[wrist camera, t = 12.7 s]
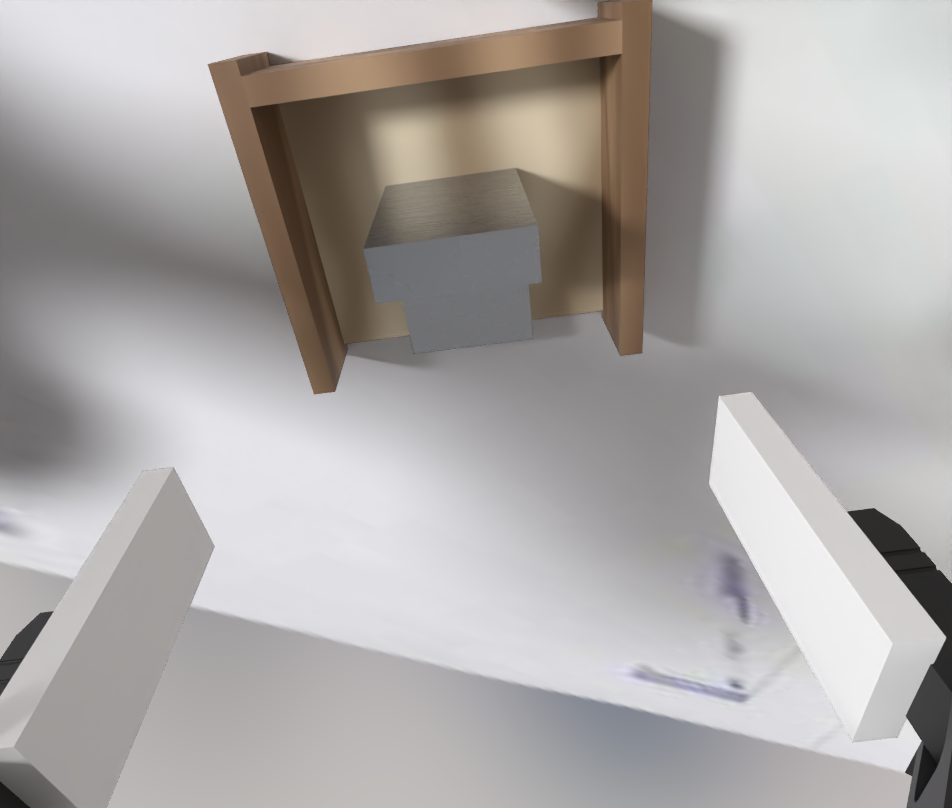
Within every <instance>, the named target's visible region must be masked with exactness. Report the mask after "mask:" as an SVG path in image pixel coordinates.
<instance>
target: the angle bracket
mask: <svg viewBox="0 0 952 808" xmlns="http://www.w3.org/2000/svg"><path fill="white" fill-rule="evenodd" d="M363 250H364V254H365V259H366V263H367V267H368V271H369V276H370V280H371V284H372V289H373V293H374V297H375V301H376V304H380V303H388V302H396V301H403V305H404V310H405V315H406V319H407V324H408V329H409V334H410V339H411V344H412V348H413V353H414V354H417V353H424V352H432V351H440V350H448V349H456V348H464V347H471V346H479V345H487V344H495V343H503V342H511V341H518V340H526V339H533V332H532V320H531V308H530V296H529V284H533V283H540V282H542V277H541V263H540V248H539V234H538V224H537V222H536V219H535V217H534V214H533V212H532V209H531V206H530V204H529V201H528V199H527V196H526V194H525V191H524V188H523V186H522V183H521V181H520V178H519V175H518V173H517V170H516V168H511V169H503V170H496V171H489V172H482V173H475V174H467V175H460V176H453V177H446V178H439V179H431V180H424V181H417V182H410V183H403V184H396V185H388V186H385V189H384V192H383V195H382V197H381V200H380V203H379V206H378V209H377V212H376V214H375V217H374V220H373V223H372V226H371V228H370V231H369V234H368V237H367V240H366V243H365V245H364V248H363Z"/></svg>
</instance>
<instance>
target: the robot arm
mask: <svg viewBox="0 0 952 808" xmlns="http://www.w3.org/2000/svg"><path fill="white" fill-rule="evenodd" d="M709 485H710V487H711V489H712V491H713V493H714V494H715V496H716V498H717V500H718V502H719V503H720V505H721V507H722V509H723V511H724V512H725V514H726V516H727V518H728V520H729V522H730V523H731V525H732V527H733V529H734V531H735V532H736V534H737V536H738V538H739V540H740V541H741V543H742V545H743V547H744V549H745V550H746V552H747V554H748V556H749V558H750V559H751V561H752V563H753V565H754V567H755V568H756V570H757V572H758V574H759V576H760V578H761V579H762V581H763V583H764V585H765V587H766V588H767V590H768V592H769V594H770V596H771V597H772V599H773V601H774V603H775V605H776V606H777V608H778V610H779V612H780V614H781V615H782V617H783V619H784V621H785V623H786V624H787V626H788V628H789V630H790V632H791V634H792V635H793V637H794V639H795V641H796V643H797V644H798V646H799V648H800V650H801V652H802V653H803V655H804V657H805V659H806V661H807V662H808V664H809V666H810V668H811V670H812V671H813V673H814V675H815V677H816V679H817V680H818V682H819V684H820V686H821V688H822V690H823V691H824V693H825V695H826V697H827V699H828V700H829V702H830V704H831V706H832V708H833V709H834V711H835V713H836V715H837V717H838V718H839V720H840V722H841V724H842V726H843V727H844V729H845V731H846V733H847V735H848V736H849V738H850V740H851V742H861V741H870V740H879V739H888V738H897V737H898V735H899V733H900V731H901V729H902V727H903V725H904V723H905V721H906V719H908V720H909V722H910V723H911V725H912V726H913V728H914V730H915V731H916V733H917V734H918V736H919V737H920V739H921V740H922V742H921V744H920V746H919V747H918V749H917V751H916V753H915V755H914V757H913V759H912V760H911V762H910V764H909V766H908V768H907V770H906V772H905V773H907V774H909V775H911V776H912V781H911V786H910V792H909V797H908V803H907V808H952V583H951V582H950V581H949V580H948V579H947V578H946V577H945V575H944V574H943V573H942V572H941V571H940V570H937V569H936V565H935V564H934V563H933V562H932V561H931V559H930V558H929V557H928V556H927V555H926V554H925V553H924V552H921V551H920V547H919V546H918V545H917V543H916V542H915V541H914V540H913V539H912V538H911V537H910V535H909V534H908V533H907V532H906V531H905V530H904V529H903V527H902V526H900V525H899V524H897V523H896V522H894V521H893V520H891V519H890V518H888V517H887V516H885V515H883V514H882V513H880V512H879V511H877V510H876V509H874V508H872V509H864V510H856V511H848V512H847V511H846V510H845V509H844V508H843V506H842V505H841V504H840V503H839V501H838V500H837V499H836V497H835V496H834V495H833V494H832V492H831V491H830V490H829V489H828V487H827V486H826V485H825V484H824V482H823V481H822V480H821V479H820V477H819V476H818V475H817V474H816V472H815V471H814V470H813V468H812V467H811V466H810V465H809V463H808V462H807V461H806V460H805V458H804V457H803V456H802V455H801V453H800V452H799V451H798V450H797V448H796V447H795V446H794V445H793V443H792V442H791V441H790V439H789V438H788V437H787V436H786V434H785V433H784V432H783V431H782V429H781V428H780V427H779V426H778V424H777V423H776V422H775V421H774V419H773V418H772V417H771V416H770V414H769V413H768V412H767V410H766V409H765V408H764V407H763V405H762V404H761V403H760V402H759V400H758V399H757V398H756V397H755V395H754V394H753V393H752V392H746V393H739V394H731V395H723V396H719V400H718V409H717V418H716V426H715V435H714V444H713V453H712V461H711V470H710V479H709ZM214 547H215V546H214V544H213V542H212V540H211V538H210V536H209V534H208V532H207V531H206V529H205V527H204V525H203V523H202V521H201V519H200V517H199V515H198V513H197V511H196V509H195V507H194V505H193V503H192V502H191V500H190V498H189V496H188V494H187V492H186V490H185V488H184V486H183V484H182V482H181V480H180V478H179V476H178V474H177V473H176V471H175V469H174V467H169V468H161V469H154V470H146V471H142V473H141V474H140V476H139V477H138V479H137V481H136V482H135V484H134V485H133V487H132V489H131V490H130V492H129V493H128V495H127V496H126V498H125V500H124V501H123V503H122V504H121V506H120V507H119V509H118V511H117V512H116V514H115V515H114V517H113V519H112V520H111V522H110V523H109V525H108V526H107V528H106V530H105V531H104V533H103V534H102V536H101V538H100V539H99V541H98V542H97V544H96V545H95V547H94V549H93V550H92V552H91V553H90V555H89V557H88V558H87V560H86V561H85V563H84V564H83V566H82V568H81V569H80V571H79V572H78V574H77V576H76V577H75V579H74V580H73V582H72V583H71V585H70V587H69V588H68V590H67V591H66V593H65V594H64V596H63V598H62V599H61V601H60V602H59V604H58V606H57V607H56V609H55V610H54V611H52V612H44V613H40V614H39V615H38V616H36V618H34V620H32V621H31V622H30V623H29V624H28V625H27V626H26V627H25V628H24V629H23V630H22V631H21V632H20V633H19V634H17V635H16V636H15V638H14V640H13V641H12V642H11V644H10V646H9V647H8V648H7V650H6V651H5V653H4V654H3V656H2V658H1V659H0V808H107V806H108V804H109V801H110V799H111V796H112V794H113V791H114V789H115V786H116V784H117V782H118V779H119V777H120V774H121V772H122V770H123V767H124V765H125V762H126V760H127V758H128V755H129V753H130V750H131V748H132V745H133V743H134V740H135V738H136V736H137V733H138V731H139V728H140V726H141V723H142V721H143V719H144V716H145V714H146V711H147V709H148V707H149V704H150V702H151V699H152V697H153V694H154V692H155V690H156V687H157V685H158V682H159V680H160V678H161V675H162V673H163V670H164V668H165V666H166V663H167V661H168V658H169V656H170V653H171V651H172V648H173V646H174V644H175V641H176V639H177V636H178V634H179V632H180V629H181V627H182V624H183V622H184V620H185V617H186V615H187V612H188V610H189V607H190V605H191V603H192V600H193V598H194V595H195V593H196V591H197V588H198V586H199V583H200V581H201V578H202V576H203V574H204V571H205V569H206V566H207V564H208V561H209V559H210V557H211V554H212V552H213V549H214Z"/></svg>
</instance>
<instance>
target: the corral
mask: <svg viewBox="0 0 952 808" xmlns="http://www.w3.org/2000/svg"><path fill="white" fill-rule="evenodd" d="M651 29H652V0H612V1H605V2H598V18H591V19H584V20H578V21H571V22H564V23H557V24H551V25H544V26H537V27H530V28H523V29H517V30H510V31H503V32H496V33H490V34H483V35H476V36H469V37H463V38H456V39H449V40H442V41H435V42H429V43H422V44H415V45H408V46H402V47H395V48H388V49H381V50H374V51H368V52H361V53H354V54H347V55H341V56H334V57H327V58H320V59H314V60H307V61H300V62H293V63H286V64H280V65H273V66H270V63H269V60H268V56H267V52H262V53H255V54H248V55H242V56H238V57H234V58H230V59H226V60H223V61H219V62H215V63H211V64H208V66H209V70H210V73H211V76H212V79H213V82H214V85H215V88H216V91H217V94H218V98H219V101H220V104H221V107H222V110H223V113H224V116H225V119H226V122H227V125H228V129H229V132H230V135H231V138H232V141H233V144H234V147H235V150H236V153H237V156H238V160H239V163H240V166H241V169H242V172H243V175H244V178H245V181H246V184H247V187H248V191H249V194H250V197H251V200H252V203H253V206H254V209H255V212H256V215H257V218H258V222H259V225H260V228H261V231H262V234H263V237H264V240H265V243H266V246H267V249H268V253H269V256H270V259H271V262H272V265H273V268H274V271H275V274H276V277H277V280H278V284H279V287H280V290H281V293H282V296H283V299H284V302H285V305H286V308H287V311H288V315H289V318H290V321H291V324H292V327H293V330H294V333H295V336H296V339H297V343H298V346H299V349H300V352H301V355H302V358H303V361H304V364H305V367H306V370H307V374H308V377H309V380H310V383H311V386H312V389H313V392H314V394H320V393H328V392H335V390H336V387H337V384H338V380H339V377H340V374H341V370H342V367H343V363H344V360H345V357H346V353H347V350H348V349H347V345H346V344H348V343H356V342H363V341H371V340H379V339H387V338H394V337H402V336H410V334H409V329H408V324H407V319H406V315H405V310H404V305H403V301H396V302H388V303H380V304H376V301H375V297H374V293H373V289H372V284H371V280H370V276H369V271H368V267H367V263H366V259H365V254H364V250H363V248H364V245H365V243H366V240H367V237H368V234H369V231H370V228H371V226H372V223H373V220H374V217H375V214H376V212H377V209H378V206H379V203H380V200H381V197H382V195H383V192H384V189H385V186H388V185H396V184H403V183H410V182H417V181H424V180H431V179H439V178H446V177H453V176H460V175H467V174H475V173H482V172H489V171H496V170H503V169H511V168H516V170H517V173H518V175H519V178H520V181H521V183H522V186H523V188H524V191H525V194H526V196H527V199H528V201H529V204H530V206H531V209H532V212H533V214H534V217H535V219H536V222H537V224H538V234H539V248H540V263H541V277H542V282H540V283H533V284H529V296H530V308H531V320H535V319H542V318H550V317H558V316H566V315H573V314H581V313H589V312H597V311H602V319H603V321H604V323H605V325H606V327H607V329H608V331H609V333H610V335H611V337H612V339H613V342H614V344H615V346H616V348H617V350H618V352H619V354H620V356H623V355H631V354H639V353H642V341H643V307H644V272H645V237H646V202H647V168H648V133H649V98H650V63H651Z"/></svg>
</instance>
